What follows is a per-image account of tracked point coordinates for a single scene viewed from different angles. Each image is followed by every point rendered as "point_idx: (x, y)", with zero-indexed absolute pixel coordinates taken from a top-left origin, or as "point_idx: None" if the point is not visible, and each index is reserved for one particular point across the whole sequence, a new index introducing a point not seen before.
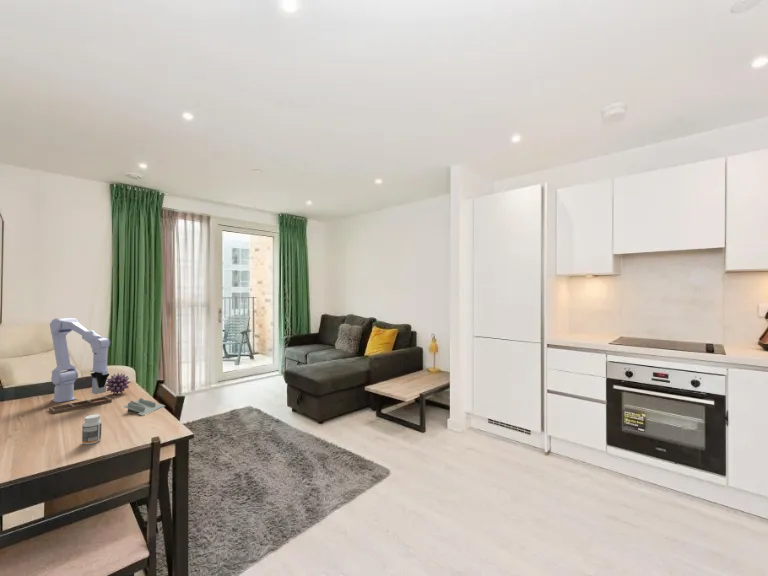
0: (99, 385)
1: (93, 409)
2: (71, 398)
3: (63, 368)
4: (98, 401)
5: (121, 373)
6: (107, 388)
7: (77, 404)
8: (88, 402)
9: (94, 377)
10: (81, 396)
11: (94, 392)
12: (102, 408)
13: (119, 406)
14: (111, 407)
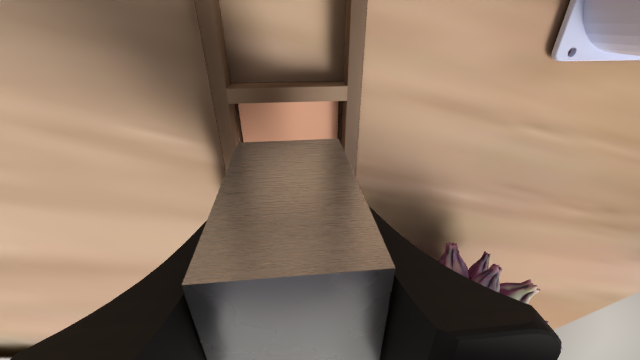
0: (200, 230)
1: (74, 53)
2: (587, 26)
3: None
4: (229, 136)
5: None
6: (483, 258)
7: (347, 2)
8: (316, 84)
9: (352, 291)
10: (595, 113)
11: (261, 147)
12: (64, 112)
13: (54, 203)
14: (56, 163)
